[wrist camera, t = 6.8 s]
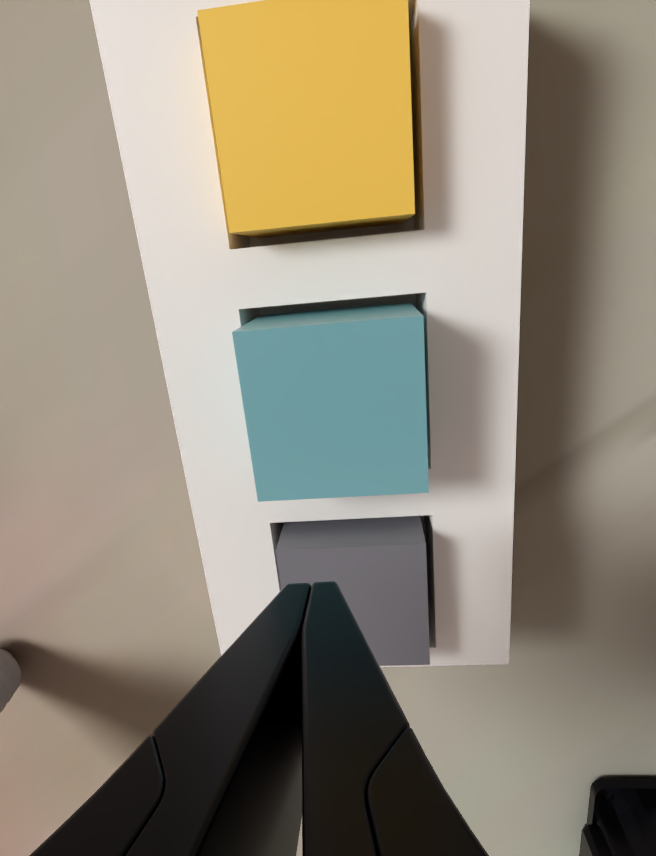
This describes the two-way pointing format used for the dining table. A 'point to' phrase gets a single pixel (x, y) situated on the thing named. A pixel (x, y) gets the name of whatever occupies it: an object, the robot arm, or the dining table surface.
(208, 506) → the button panel
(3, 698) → the lightbulb
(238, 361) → the teal button
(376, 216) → the amber button
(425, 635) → the charcoal button
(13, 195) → the dining table surface
